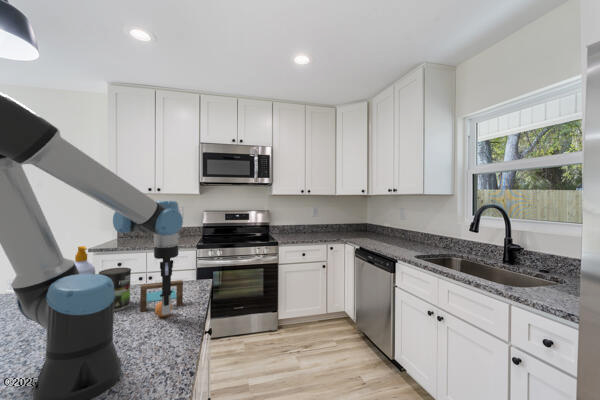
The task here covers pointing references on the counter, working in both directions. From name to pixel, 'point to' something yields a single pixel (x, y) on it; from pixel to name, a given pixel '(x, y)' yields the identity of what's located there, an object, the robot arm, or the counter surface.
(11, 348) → the counter surface
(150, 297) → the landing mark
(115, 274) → the coffee can
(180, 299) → the bridge
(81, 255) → the soap bottle
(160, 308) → the ball
